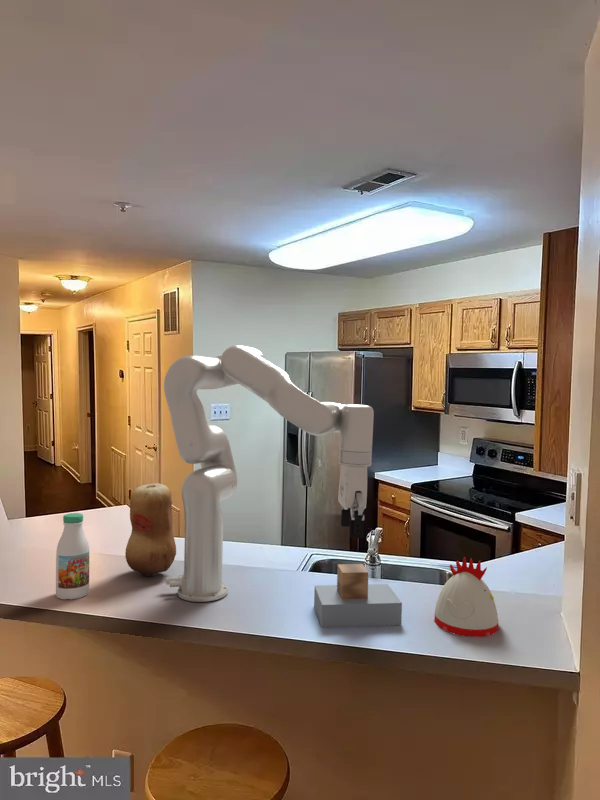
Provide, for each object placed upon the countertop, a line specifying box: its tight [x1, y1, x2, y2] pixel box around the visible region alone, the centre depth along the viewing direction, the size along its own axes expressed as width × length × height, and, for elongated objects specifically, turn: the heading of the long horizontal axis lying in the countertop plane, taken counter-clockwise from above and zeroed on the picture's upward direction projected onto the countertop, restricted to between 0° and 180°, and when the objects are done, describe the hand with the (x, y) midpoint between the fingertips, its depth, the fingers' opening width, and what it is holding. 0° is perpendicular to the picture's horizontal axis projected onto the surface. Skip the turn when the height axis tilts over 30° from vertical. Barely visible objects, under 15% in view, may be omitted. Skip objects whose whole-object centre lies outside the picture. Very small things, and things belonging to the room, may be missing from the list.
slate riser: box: [313, 583, 403, 628], centre depth 132 cm, size 18×12×5 cm, turn 96°
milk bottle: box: [55, 512, 90, 600], centre depth 140 cm, size 8×8×20 cm
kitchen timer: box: [433, 556, 499, 638], centre depth 128 cm, size 14×14×15 cm
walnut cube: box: [336, 563, 369, 599], centre depth 131 cm, size 6×6×6 cm
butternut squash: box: [124, 483, 177, 577], centre depth 156 cm, size 14×13×25 cm
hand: (351, 531), depth 131 cm, fingers open, 9 cm apart
